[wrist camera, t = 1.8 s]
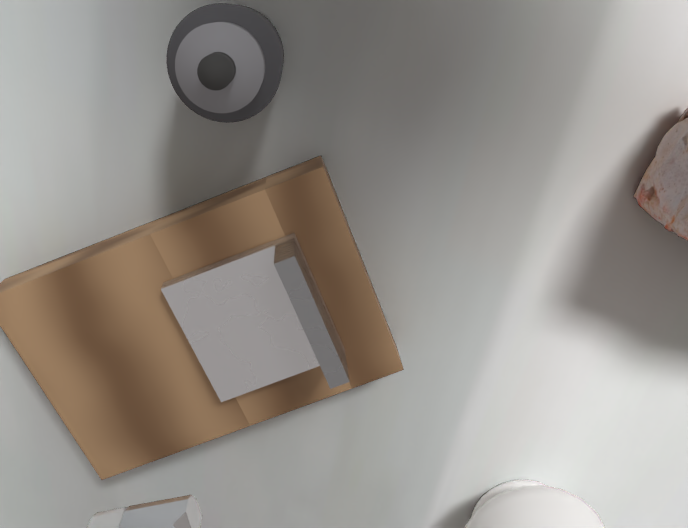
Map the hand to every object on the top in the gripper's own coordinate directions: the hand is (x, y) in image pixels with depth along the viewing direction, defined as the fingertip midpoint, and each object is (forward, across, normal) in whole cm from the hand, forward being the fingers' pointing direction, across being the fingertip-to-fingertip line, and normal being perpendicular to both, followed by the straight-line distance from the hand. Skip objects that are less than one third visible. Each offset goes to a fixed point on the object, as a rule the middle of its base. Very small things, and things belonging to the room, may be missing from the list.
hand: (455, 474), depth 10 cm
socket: (+25, +8, +7) cm, 27 cm away
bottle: (+25, +4, -6) cm, 26 cm away
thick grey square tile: (+22, +5, +6) cm, 24 cm away
